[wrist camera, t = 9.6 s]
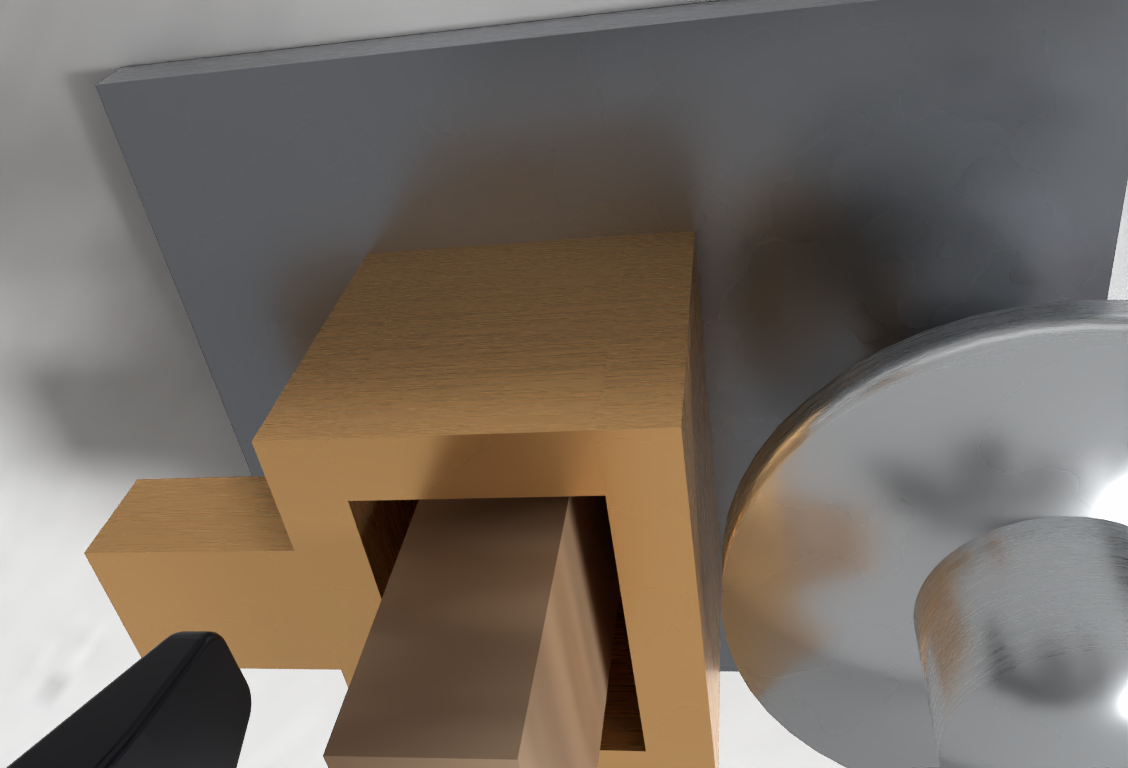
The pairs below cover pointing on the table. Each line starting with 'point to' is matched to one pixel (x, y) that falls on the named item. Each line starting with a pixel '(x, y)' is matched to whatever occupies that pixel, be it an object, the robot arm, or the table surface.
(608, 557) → the wedge
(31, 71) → the table surface
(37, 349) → the table surface
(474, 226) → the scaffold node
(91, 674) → the table surface
